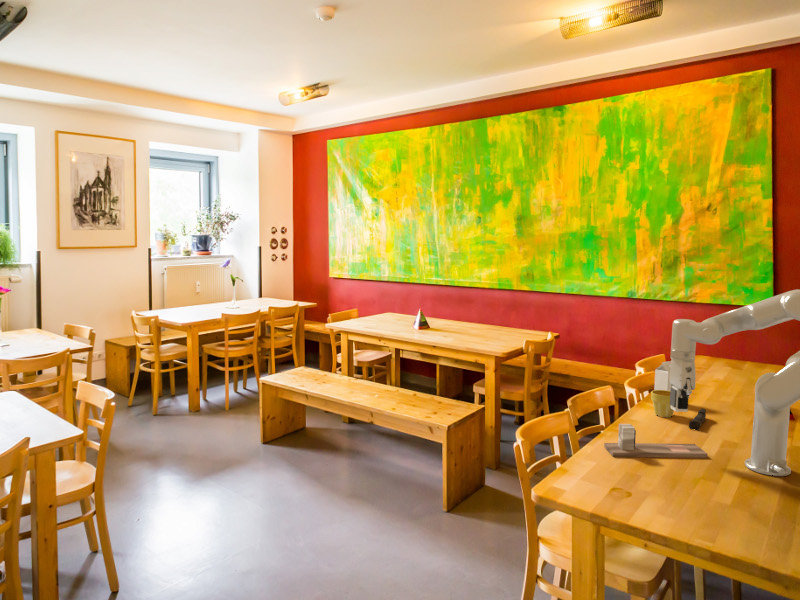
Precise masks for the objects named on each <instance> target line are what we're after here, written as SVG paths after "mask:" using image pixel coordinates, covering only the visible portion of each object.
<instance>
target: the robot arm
mask: <svg viewBox="0 0 800 600" xmlns="http://www.w3.org/2000/svg"><path fill="white" fill-rule="evenodd" d="M791 320H796V321H799V322H800V289H793V290H789V291H786V292H783V293H779V294H777V295H774V296H771V297H768V298H766V299H763V300H759V301H756V302H754V303H750V304H747V305H745V306H741V307H739V308H736V309H733V310H729V311H726V312H723V313H720V314H718V315H714V316H712V317H709V318H707V319H705V320H702V322H696V320H693V319H687V318H677V319H674V320H673V321H672V326H671V327H672V329H671V343H670V344H671V345H670V359H671V360H670V361H671V365H670V374H669V381H670V383H671V387H672V386H676V387H677V388H679V396H680V397H678V409H688V410H689V399H690V395H691V394H693V390H695V388H696V363H695V360H696V348H697V343H699V344H703V345H715V344H717V343H719V342H720V341H721V339H722V338H724V337H725V336H729V335H732V334H735V333H736V334H737V333H739V332H742V331H743V332H744V331H748V330H749V331H752V330H753V331H758V330H763V329H766V328H769V327H773V326H775V325H778V324H782V323H784V322H789V321H791ZM683 387H686V389H683ZM683 391H685V392H683ZM799 400H800V350H798V351H797V352H796V353H794V354H793V355H791V356H789V358H787V360H786V362H785V367H783V368H782V369H781V370H779V371H777V372H766V373H764V374H762V375H761V376H759V377H758V379H757V381H756V382H755V385H754V406H753V407H754V408H753V412H754V413H753V420H752V421H753V424H752V437H751V450H750V457H749V458H746V459H745V460H744V466H745V467H747V469H748V470H749V469H750V470H751V471H754V472H756V473H759V474H763V475H768V476H772V475H773V477H785V476H786V477H787V476H789V475H791V474H792V469H791V467H790V466H788V464H787V462H788V461H787V449H788V439H789V438H788V436H789V425H790V412H791V411H790V410H791V406H792V405H794V404H795V403H797V402H798V401H799Z"/></svg>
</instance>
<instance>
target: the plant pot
mask: <svg viewBox="0 0 800 600" xmlns="http://www.w3.org/2000/svg"><path fill="white" fill-rule="evenodd" d="M650 400H651V401H652V404H653V405H652V406H653V410H654V414H656V415H655V416H657V415H658V416H657V417H660V416H662V417H661V418H672V417H673V415H674V412H675V411H674V410H673V409H671V405H670V391H667V390H652V391H651V392H650ZM671 416H672V417H671Z"/></svg>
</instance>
